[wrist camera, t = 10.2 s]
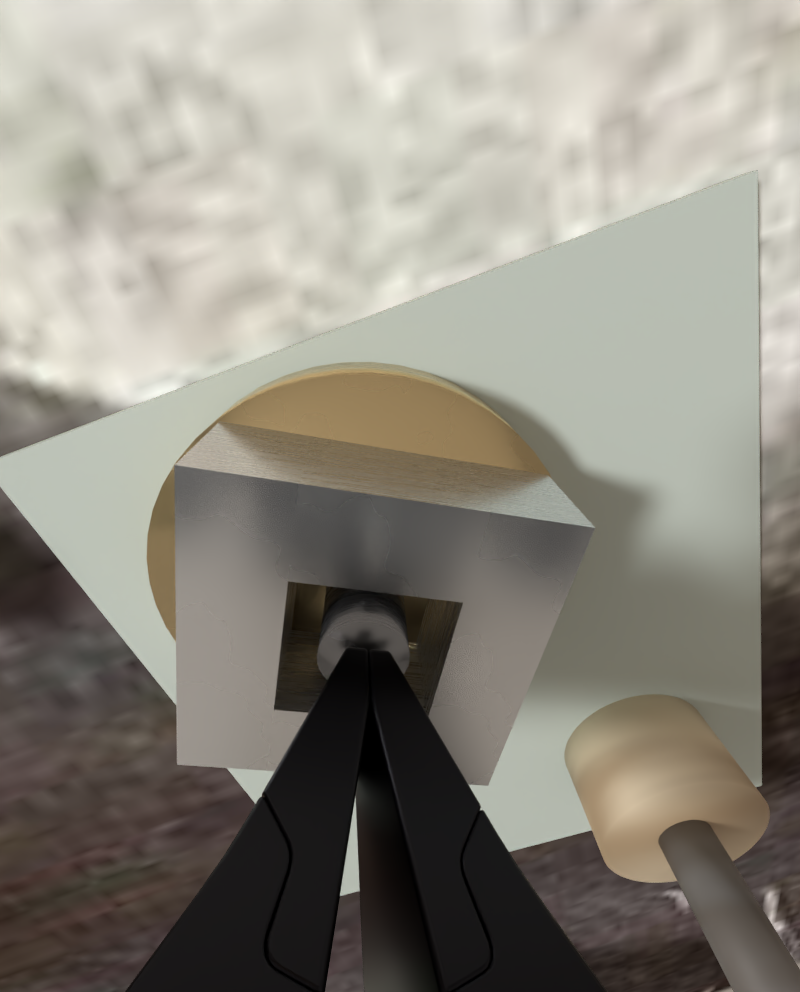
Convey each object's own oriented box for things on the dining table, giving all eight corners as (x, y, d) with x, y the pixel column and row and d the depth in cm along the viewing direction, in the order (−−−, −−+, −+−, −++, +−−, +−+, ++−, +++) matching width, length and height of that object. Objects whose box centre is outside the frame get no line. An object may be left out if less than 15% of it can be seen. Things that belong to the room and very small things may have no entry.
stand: (707, 768, 17) (898, 1047, 11) (577, 803, 18) (689, 1090, 12) (699, 677, 15) (929, 956, 9) (552, 719, 16) (673, 1013, 10)
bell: (577, 631, 14) (646, 748, 11) (276, 722, 15) (248, 858, 12) (499, 294, 10) (568, 304, 7) (89, 448, 11) (-45, 529, 7)
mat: (754, 775, 18) (761, 785, 18) (332, 886, 20) (331, 898, 20) (743, 173, 10) (757, 170, 9) (-5, 458, 11) (-18, 464, 11)
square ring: (468, 701, 13) (488, 786, 11) (211, 677, 12) (176, 764, 10) (547, 474, 10) (595, 527, 8) (219, 421, 9) (174, 464, 7)
